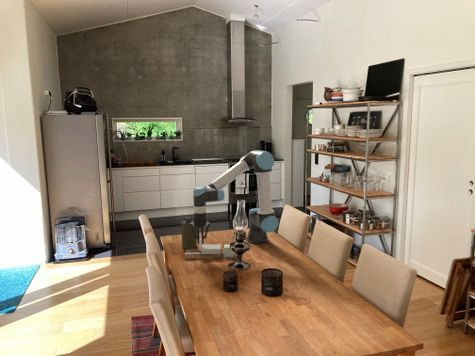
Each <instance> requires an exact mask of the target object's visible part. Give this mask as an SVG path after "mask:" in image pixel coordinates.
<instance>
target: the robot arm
mask: <svg viewBox="0 0 475 356" xmlns="http://www.w3.org/2000/svg"><path fill="white" fill-rule="evenodd" d="M274 164H275V157H274V156H273V154H272V153H271V152H269V151H266V150H261V149H260V150H258V149H253V150H251V151H250V152H248V153H246V154H245V155H244V156H242V157H241V158H240V159H239V162H237V163H236V164H235V165H232V167H231V168H229V169H228V170H226V172H224V173H223V174H221V175H220V176H218V177H217V178H216V179H214V180H213V181H212V182H211V183H209V184H208V185H204V186H199V187H194V188H193V190H192V191H193V194H192V197H193V220H194V221H193V222H192V223H190V226H191V227H192V231H193V234H194V238H196V239H197V245H199V248H198V249H199V250H201V248H202V245H204V240H205V239H207V235H208V232H209V228H210V225H211V222H209V221H208V220H207V205H206V204H207V203H215V202H222V201H224V200H225V191H224V190H223V189H224V188H225V187H226V186H228V185H229V184H230V183H232V182H233V181H234V180H236V179H237V178H238V177H240V176H241V175H242V174H244V173H245V172H246V171H250V170H252V169H253V172H254V174H256V184H257V194H258V195H257V197H258V208H257V207H255V208H251V209H249V210H248V211H249V212H248V224H249V225H248V226H249V227H248V233H247V236H246V241H247V242H248V243H250V244H259V245H260V244H264V243H268V242H269V236H268V233H273V232H274V231H276V229H277V227H278V226H279V220H278V218H277V217H276V215H275V214H276V213H275V210H274V209H273V204H272V190H271V173H272V171H273V169H272V168H273V166H274ZM194 224H195V225H196V226H197V236H196V232H195V228H194ZM205 225H206V228H205V232H204V227H205ZM200 231H201V232H200ZM200 233H201V234H200ZM200 235H201V237H200Z"/></svg>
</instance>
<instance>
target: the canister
mask: <svg viewBox="0 0 475 356" xmlns="http://www.w3.org/2000/svg"><path fill="white" fill-rule="evenodd" d="M193 221H194V219H192V216H191V217H190V216H185V217H184V219H183V220H181V222H180V223H181V225H180V226H181V227H180V228H181V248H183V249H195V248H196V247H198V242H197V239H196V238H194V234H193V231H192V227H191V226H190V223H192V222H193ZM194 228H195V232H196V236H197V226H196V225H195V224H194Z"/></svg>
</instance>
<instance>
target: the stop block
mask: <svg viewBox="0 0 475 356" xmlns="http://www.w3.org/2000/svg"><path fill="white" fill-rule="evenodd" d="M229 246H230V244H224V246H223V253H224V257H234V252H235V251H234V252H233V251H232V250H231V249H230V247H229Z"/></svg>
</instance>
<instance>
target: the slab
mask: <svg viewBox="0 0 475 356" xmlns="http://www.w3.org/2000/svg"><path fill="white" fill-rule="evenodd" d="M221 249H222V243H219V244H218V243H217V244H215V243H214V244H213V243H212V244H209V243H208V244H202V248H201V254H221Z"/></svg>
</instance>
